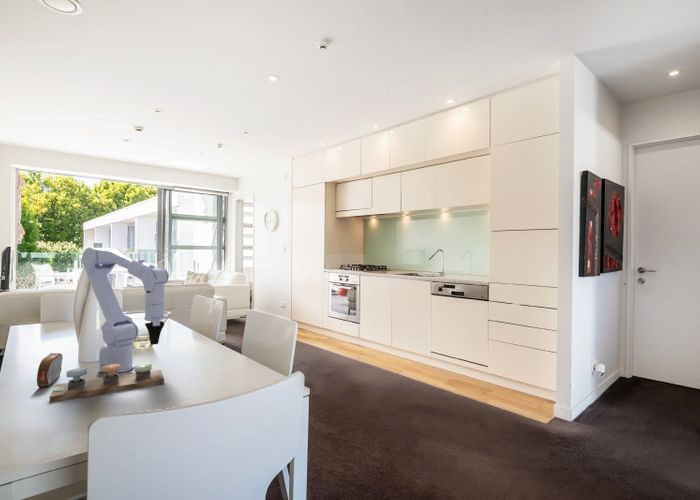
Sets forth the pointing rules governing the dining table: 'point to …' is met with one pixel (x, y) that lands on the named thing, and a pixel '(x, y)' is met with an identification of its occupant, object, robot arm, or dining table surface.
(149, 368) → the sage button
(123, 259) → the robot arm
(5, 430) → the dining table surface
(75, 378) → the slate button
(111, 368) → the terracotta button
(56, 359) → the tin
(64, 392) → the button board
